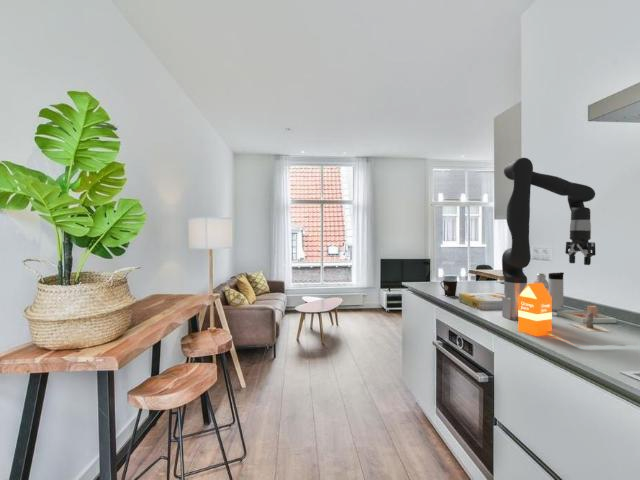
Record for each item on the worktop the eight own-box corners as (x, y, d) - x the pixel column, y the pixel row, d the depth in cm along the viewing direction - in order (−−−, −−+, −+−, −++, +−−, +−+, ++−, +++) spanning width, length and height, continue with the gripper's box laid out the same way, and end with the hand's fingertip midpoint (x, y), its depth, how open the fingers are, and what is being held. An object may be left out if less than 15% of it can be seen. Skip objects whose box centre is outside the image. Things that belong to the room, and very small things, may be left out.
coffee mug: (459, 296, 198) (459, 281, 198) (446, 297, 198) (446, 281, 198) (452, 293, 209) (452, 279, 209) (439, 293, 210) (439, 279, 209)
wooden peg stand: (588, 334, 122) (588, 316, 122) (567, 326, 132) (568, 310, 132) (613, 334, 122) (613, 316, 121) (591, 326, 132) (591, 310, 131)
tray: (582, 325, 133) (582, 318, 133) (556, 316, 148) (556, 310, 148) (616, 325, 133) (616, 318, 133) (587, 316, 148) (587, 310, 148)
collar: (580, 321, 137) (580, 308, 137) (567, 317, 144) (567, 304, 144) (602, 321, 137) (602, 308, 137) (588, 317, 144) (588, 304, 144)
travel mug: (566, 312, 157) (566, 273, 157) (552, 311, 158) (552, 273, 158) (559, 309, 163) (559, 271, 163) (545, 308, 164) (545, 271, 164)
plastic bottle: (550, 313, 155) (550, 273, 155) (548, 315, 150) (548, 275, 150) (534, 311, 159) (534, 272, 159) (532, 313, 154) (532, 274, 154)
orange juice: (517, 330, 127) (518, 282, 127) (532, 328, 130) (532, 281, 130) (537, 336, 119) (537, 285, 119) (552, 333, 123) (552, 283, 122)
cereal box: (458, 292, 183) (502, 291, 186) (458, 302, 184) (502, 300, 186) (478, 300, 163) (527, 299, 166) (478, 310, 163) (527, 309, 166)
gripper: (560, 230, 152) (559, 262, 152) (584, 229, 138) (584, 265, 138) (576, 230, 152) (575, 262, 152) (601, 229, 137) (601, 265, 138)
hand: (579, 264), depth 145 cm, fingers open, 8 cm apart
